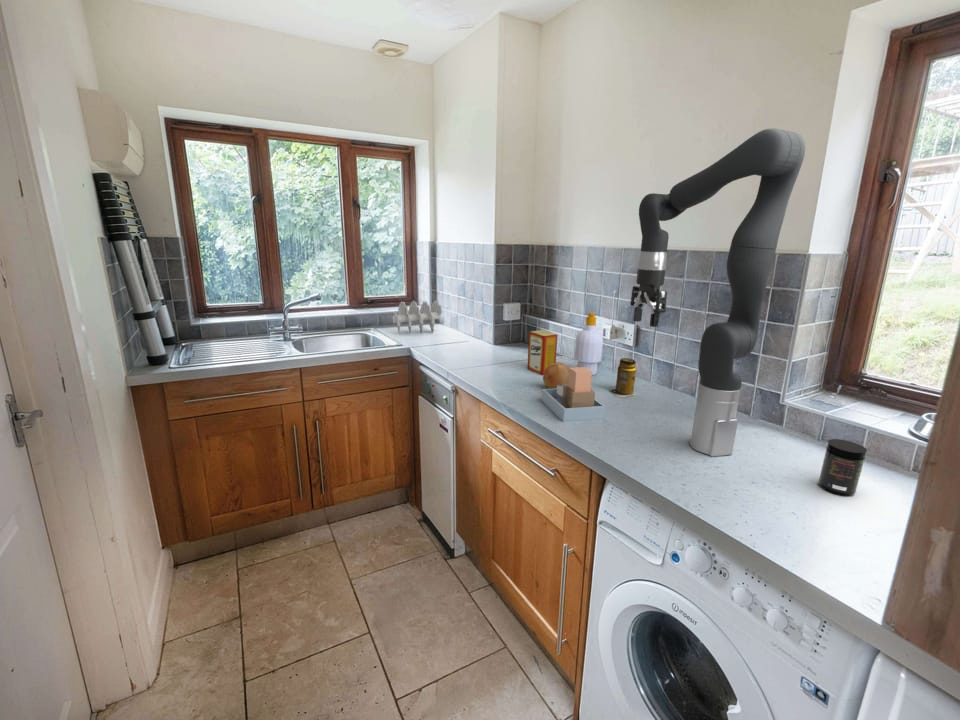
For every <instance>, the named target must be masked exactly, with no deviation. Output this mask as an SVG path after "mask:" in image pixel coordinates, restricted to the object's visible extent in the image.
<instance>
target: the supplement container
mask: <svg viewBox="0 0 960 720" xmlns="http://www.w3.org/2000/svg"><path fill="white" fill-rule="evenodd" d="M867 452H868V450H867V448H866V447H864V446H863V445H861V444H859V443H856V442H853V441H849V440H845V439H841V438H840V439H839V438H831V439H828V440H827V443H826V447H825V452H824V457H823V461H822V465H821V469H820V474H819V478H818V481H817V482H818V484H819V486H820V487H821V488H822V489H823V490H824V491H826V492H829V493H832V494H834V495H837V496H842V497H850V496H853V495H854V494H856V492H857V489H858V485H859V482H860V477H861V474H862V470H863V465H864V462H865V459H866V456H867Z"/></svg>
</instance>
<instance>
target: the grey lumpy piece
mask: <svg viewBox="0 0 960 720" xmlns="http://www.w3.org/2000/svg"><path fill="white" fill-rule="evenodd" d="M442 314H443V308H442V304H440V303H439V300H434V302H432V304H431V305H430V304H428V301H427V300H425V301H422V303H421V305H420V307H419V306H418V302H417V301H415V300H412V302H411V303H410V304H409V308H408V306H406V303H405V301H400V303H399V305H398V308H397V312H396V311H394V315H392V323H393V324H396V327H397V332H398V334H399V335H401V326H402V325H403V324H404V323H407V327H408V332H409V333H410V334H412V325H413V324H414V322H419V323H418V324H419V325H418V327H419V331H420V333H421V334H424V326H423V325H425V321H429V328H430V331H431V333H434V332H435V324H436V322H435V321H436V320H440V318H441V317H440V316H441V315H442Z"/></svg>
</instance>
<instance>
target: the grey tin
mask: <svg viewBox="0 0 960 720" xmlns="http://www.w3.org/2000/svg"><path fill="white" fill-rule="evenodd" d="M563 386H568V384H567V383H563V384H558V385H557V393H556V400H557V401H558V402H559V403H560V404H561V405H562V398H563Z"/></svg>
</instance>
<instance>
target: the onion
mask: <svg viewBox="0 0 960 720" xmlns="http://www.w3.org/2000/svg"><path fill="white" fill-rule="evenodd" d="M568 379H569V367H568V366H567V365H566V364H564V363H563V362H560V361H559V362H557V361H556V363H553V364H551V365H549V366H548V367H547V368H546V369H545V371H544V374H543V375H542V380H543V383H544V386H545V387H546V388H547V389H555V388H557V385H558V384H563V383H567V384H568Z"/></svg>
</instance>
